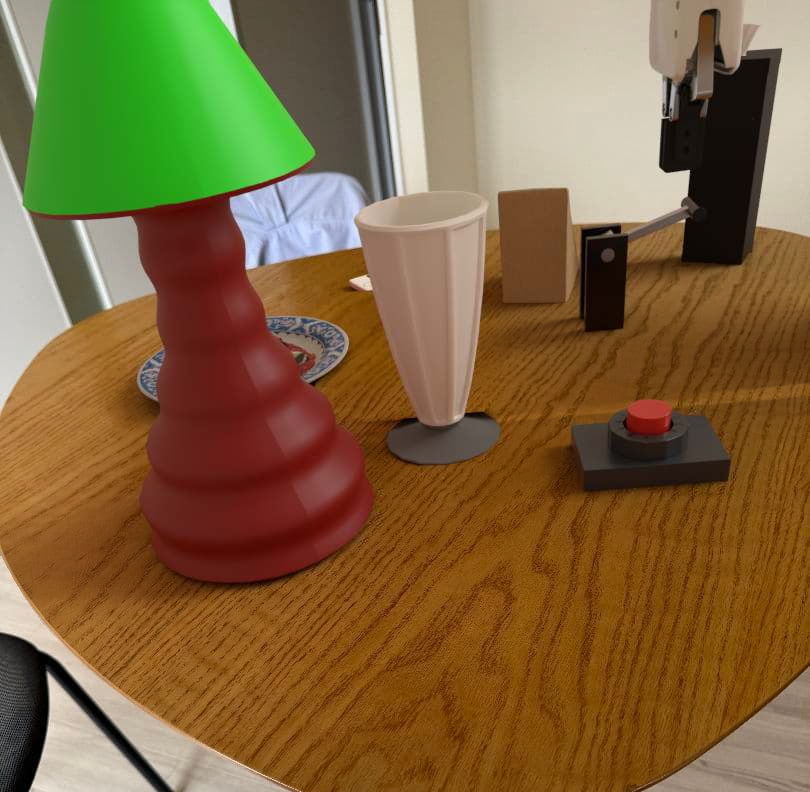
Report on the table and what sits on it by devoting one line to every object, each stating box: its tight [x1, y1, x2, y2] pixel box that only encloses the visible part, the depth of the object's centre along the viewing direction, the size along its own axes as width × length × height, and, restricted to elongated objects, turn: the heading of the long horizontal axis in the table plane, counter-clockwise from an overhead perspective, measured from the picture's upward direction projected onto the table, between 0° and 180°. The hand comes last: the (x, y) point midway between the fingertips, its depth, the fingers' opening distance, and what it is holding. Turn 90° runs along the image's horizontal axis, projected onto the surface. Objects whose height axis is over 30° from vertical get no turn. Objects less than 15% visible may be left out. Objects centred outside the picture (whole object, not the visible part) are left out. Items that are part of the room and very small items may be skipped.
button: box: [626, 398, 672, 436], centre depth 67 cm, size 4×4×2 cm
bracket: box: [578, 222, 629, 333], centre depth 90 cm, size 12×8×12 cm, turn 88°
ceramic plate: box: [136, 315, 350, 402], centre depth 95 cm, size 26×26×3 cm
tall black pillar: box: [681, 23, 783, 266], centre depth 99 cm, size 8×8×28 cm
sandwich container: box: [497, 187, 580, 304], centre depth 102 cm, size 9×15×15 cm, turn 163°
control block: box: [570, 407, 732, 493], centre depth 68 cm, size 12×8×4 cm, turn 88°
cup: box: [353, 190, 502, 466], centre depth 71 cm, size 12×12×22 cm
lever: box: [597, 195, 706, 244], centre depth 86 cm, size 12×5×2 cm, turn 88°
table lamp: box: [22, 0, 375, 584], centre depth 56 cm, size 20×20×45 cm
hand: (679, 168), depth 67 cm, fingers closed
